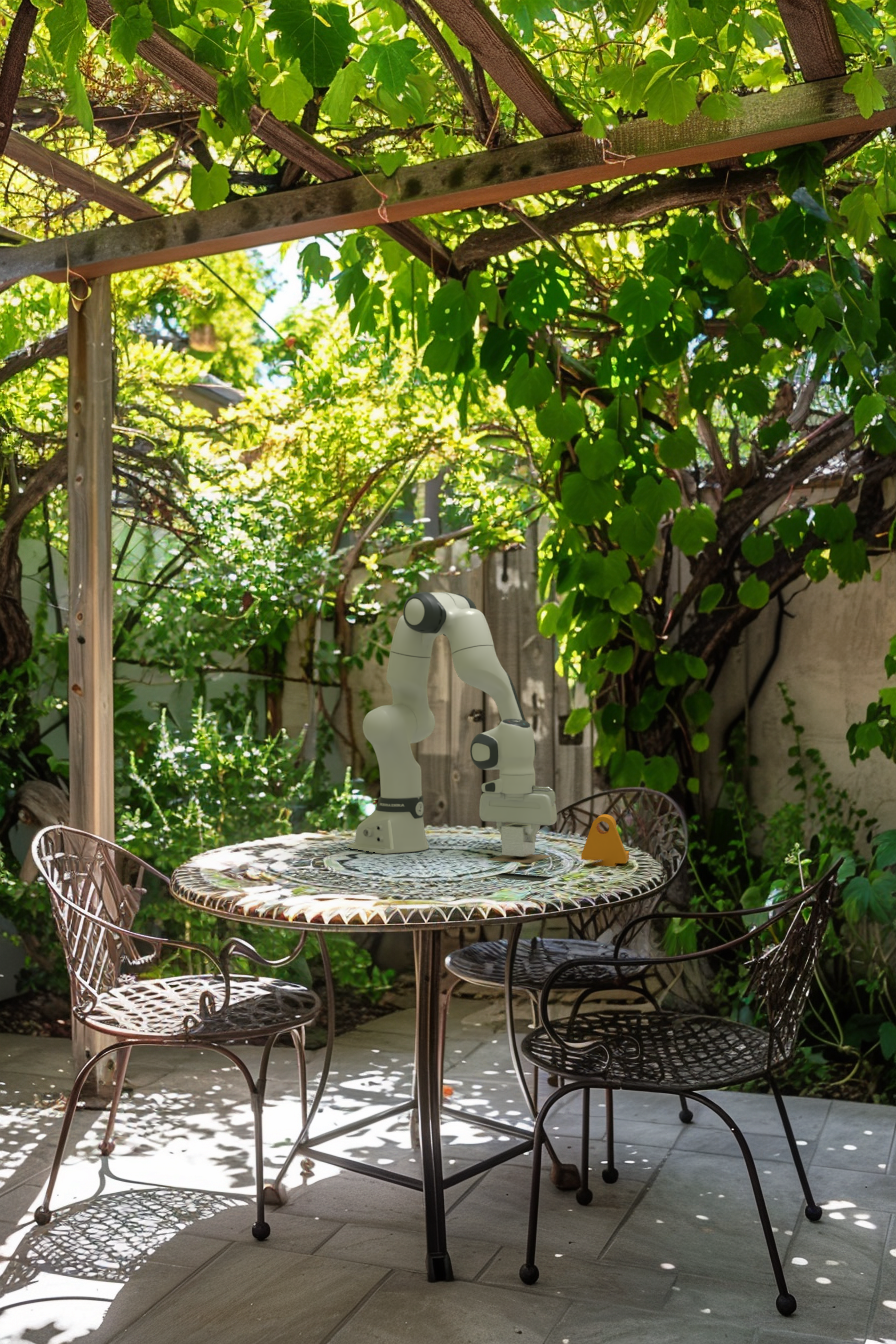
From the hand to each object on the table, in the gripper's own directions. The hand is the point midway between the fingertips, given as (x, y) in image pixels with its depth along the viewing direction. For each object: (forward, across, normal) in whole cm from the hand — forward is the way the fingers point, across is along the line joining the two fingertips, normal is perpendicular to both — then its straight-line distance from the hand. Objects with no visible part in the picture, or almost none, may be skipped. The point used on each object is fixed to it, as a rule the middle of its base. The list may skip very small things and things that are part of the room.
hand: (518, 841), depth 306 cm
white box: (+3, 0, 0) cm, 3 cm away
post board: (+6, 0, 0) cm, 6 cm away
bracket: (+6, -19, -9) cm, 22 cm away
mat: (+6, -10, +13) cm, 17 cm away
